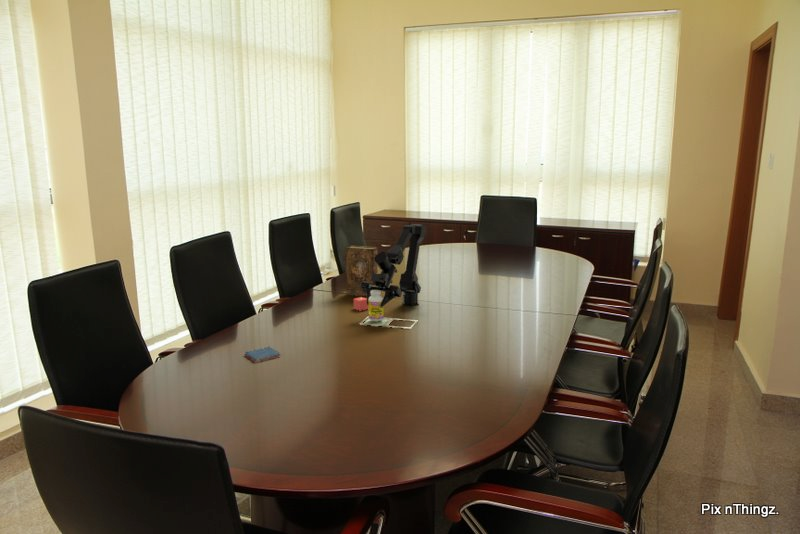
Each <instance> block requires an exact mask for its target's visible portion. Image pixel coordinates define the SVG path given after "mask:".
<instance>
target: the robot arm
mask: <svg viewBox="0 0 800 534" xmlns="http://www.w3.org/2000/svg"><path fill="white" fill-rule="evenodd" d="M426 233H427V228H426V226H425V225H424V224H419V223H418V224H417V223H415V224H414V223H411V224H410V225H408V224H407V225H403V227H402V231H401V233H400V235H399V236H398V238H397V239H396V242H395V244H394V245H393V246H391V247H390V248H388V250H387V251H386V250H381V252H380V253H379V252H378V253H377V255H376V256H375V258H374V260H375V262H376V264H377V265H378V269H380V270H381V271H380V273H378V274H374V273H372V276H371V281H374V284H376V286H372V284H371V283H370V282H364V281H363V282H362V283H361V285H360V287H361V288H362V289H363V291H364V292H366V293H367V297H366V298H367V305H368V299H369V297H370V296H371V291H372V290H380V291H381V292H384V295H383V300H382V303H381V307H383V306H384V307H385V305H386V304H388V303H389V302H390V301H392V300H393V299H396V298H402V304H403V305H404V304H405V306H406V307H410V306H412V305H413V306H420V303H419V297H418V294H420V292H421V288H422V287H421V284H420V283H419V277H418V275H417V273H416V271H417V265H418V259H419V253H420V247H421V246H420V245H421V243H422V242H423V240H424V239H425V237H426ZM408 244H409V246H408V247H409V248H408V251H407V252H408V254H407V260H406V265H405V271H404V272H402V273H401V274H400V279H399V283H398V284H399V285H394V284H393V278H394V276H395V274H397V273H398V270H397V267H396V266H397V265H401V264H402V262H403V259H404V257H405V256H404V255H405V254H404V251H405V249H406V247H407V245H408Z"/></svg>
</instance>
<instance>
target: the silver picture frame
mask: <svg viewBox="0 0 800 534" xmlns="http://www.w3.org/2000/svg"><path fill="white" fill-rule="evenodd" d="M393 320H394V321H399V320H403V321H402V322H411V321H412V322H411V323H412V324H411V325H410V327H407V326H397V325H395V326H394V325H391V324H392V323H393V322H394V321H393ZM364 321H365V322H364ZM392 321H393V322H392ZM363 322H364V323H363ZM391 322H392V323H391ZM418 322H419V320H417V319H416V320H415V319H408V318H407V319H405V318H403V319H402V318H394V317H393V318H392V317H384V319H383V320H381V321H371V320H369V315H368V316H366V317H365V318H364V319H363V320H361V321H360V322H359V323H358V325H359V324H360V325H359V326H367V325H371V326H370V327H378V326H382V327H381V328H390V327H392V328H393V329H401V328H403V330H412V329H413V328H414V327H415V326H416V325H417V324H418ZM390 323H391V324H390ZM389 324H390V325H389Z"/></svg>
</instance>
